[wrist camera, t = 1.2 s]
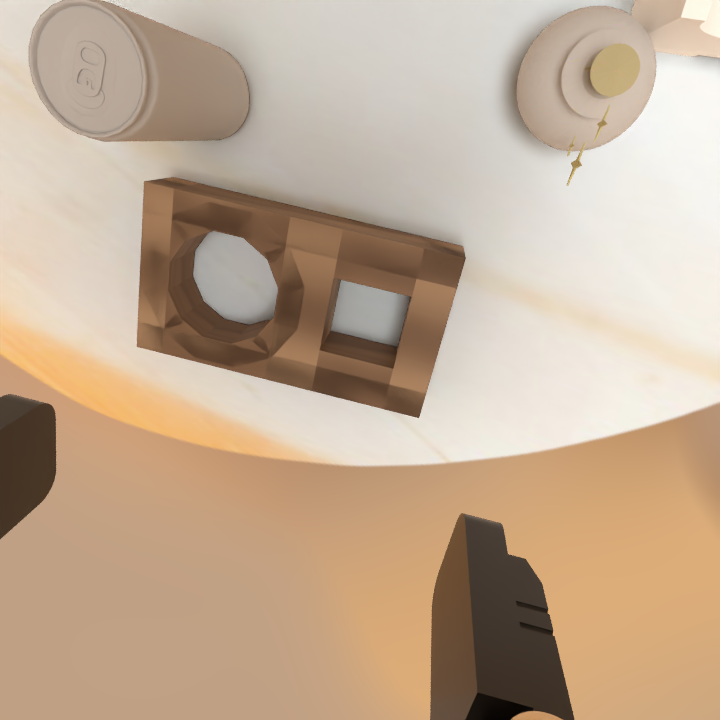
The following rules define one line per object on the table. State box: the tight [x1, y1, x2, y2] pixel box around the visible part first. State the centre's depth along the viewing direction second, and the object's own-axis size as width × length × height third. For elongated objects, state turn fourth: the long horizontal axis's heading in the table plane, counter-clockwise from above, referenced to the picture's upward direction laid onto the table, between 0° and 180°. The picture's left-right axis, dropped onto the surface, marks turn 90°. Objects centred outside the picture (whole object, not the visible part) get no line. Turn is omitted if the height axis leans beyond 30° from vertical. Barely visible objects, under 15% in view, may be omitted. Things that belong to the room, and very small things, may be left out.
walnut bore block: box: [137, 177, 466, 418], centre depth 33 cm, size 10×18×4 cm, turn 78°
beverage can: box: [29, 0, 249, 141], centre depth 25 cm, size 5×5×12 cm
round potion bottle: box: [517, 6, 656, 186], centre depth 24 cm, size 6×7×10 cm
